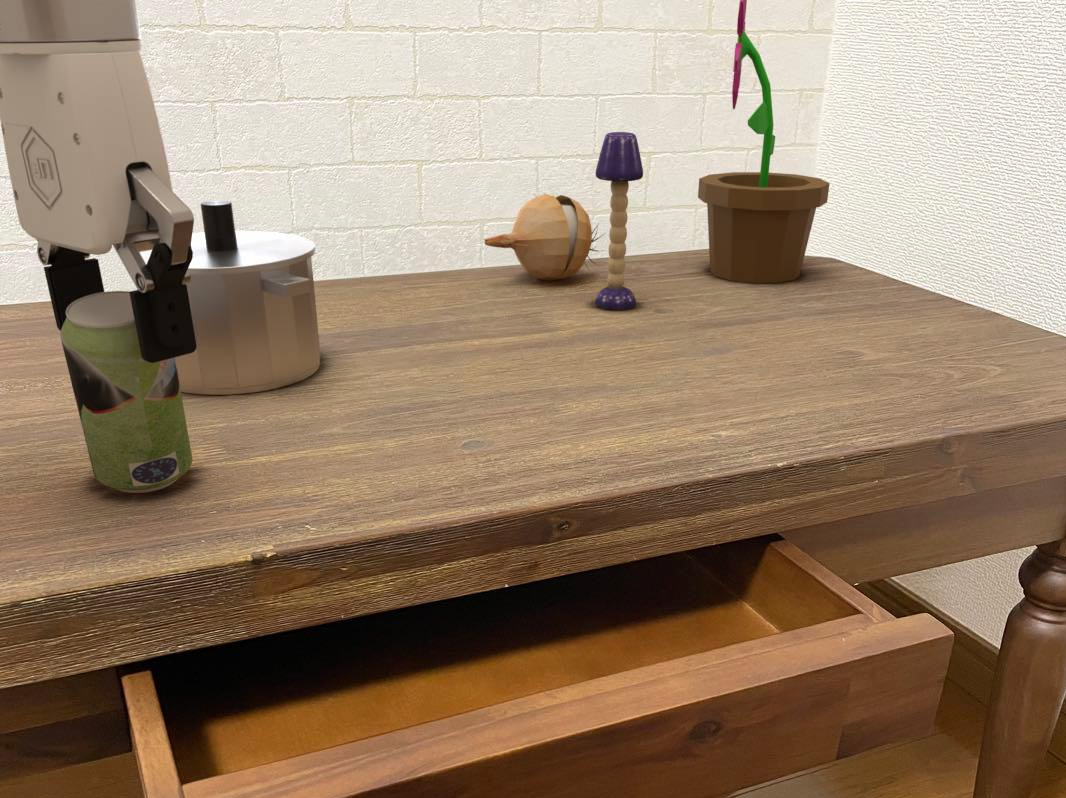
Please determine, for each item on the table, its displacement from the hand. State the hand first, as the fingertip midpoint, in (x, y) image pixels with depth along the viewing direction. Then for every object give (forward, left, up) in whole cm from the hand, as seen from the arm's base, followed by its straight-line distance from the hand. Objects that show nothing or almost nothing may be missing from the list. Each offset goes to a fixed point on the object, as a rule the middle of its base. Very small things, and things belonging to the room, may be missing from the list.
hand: (125, 341), depth 62 cm
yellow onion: (+60, +18, -10) cm, 63 cm away
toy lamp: (+56, +5, -10) cm, 57 cm away
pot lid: (+18, +16, 0) cm, 24 cm away
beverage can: (0, 0, -10) cm, 10 cm away
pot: (+18, +16, -9) cm, 26 cm away
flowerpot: (+79, +2, -10) cm, 79 cm away
